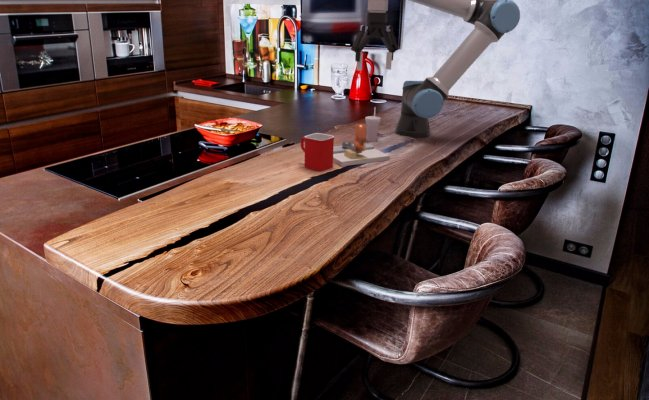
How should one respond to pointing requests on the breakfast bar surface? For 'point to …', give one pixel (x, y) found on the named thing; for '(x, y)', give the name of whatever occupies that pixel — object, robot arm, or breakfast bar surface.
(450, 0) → the robot arm
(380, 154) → the door panel
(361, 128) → the latch bar
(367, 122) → the smoothie
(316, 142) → the mug
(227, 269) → the breakfast bar surface
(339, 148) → the jamb strip
